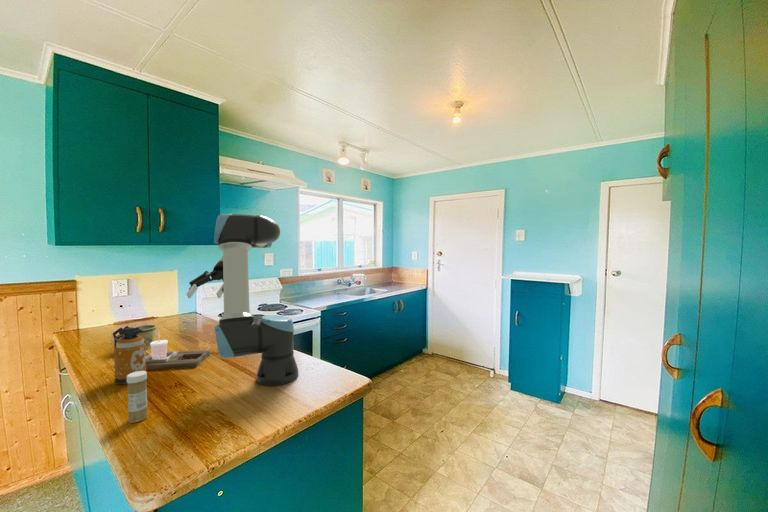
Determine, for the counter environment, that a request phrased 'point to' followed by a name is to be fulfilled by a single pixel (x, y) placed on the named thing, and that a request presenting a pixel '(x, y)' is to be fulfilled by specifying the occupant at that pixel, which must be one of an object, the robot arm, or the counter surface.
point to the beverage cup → (159, 348)
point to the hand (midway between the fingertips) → (203, 296)
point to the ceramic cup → (147, 334)
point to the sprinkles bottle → (137, 396)
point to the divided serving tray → (177, 360)
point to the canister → (128, 353)
